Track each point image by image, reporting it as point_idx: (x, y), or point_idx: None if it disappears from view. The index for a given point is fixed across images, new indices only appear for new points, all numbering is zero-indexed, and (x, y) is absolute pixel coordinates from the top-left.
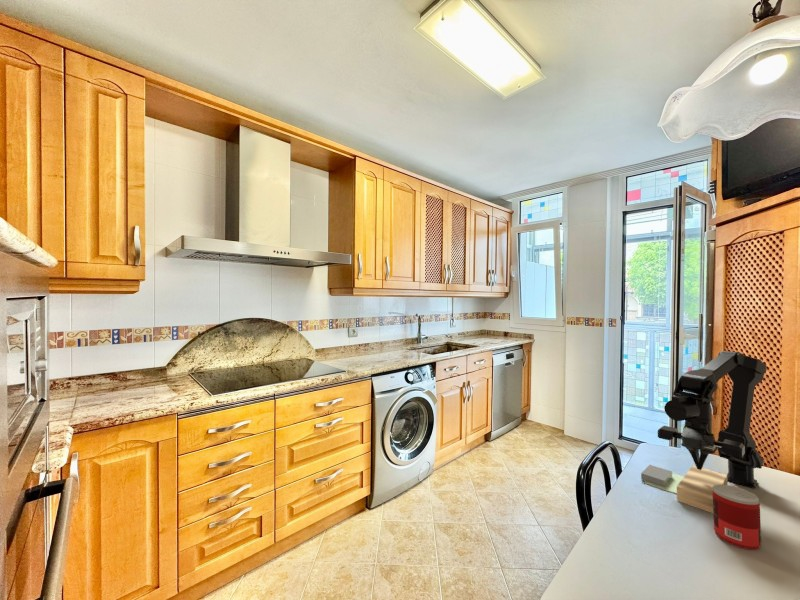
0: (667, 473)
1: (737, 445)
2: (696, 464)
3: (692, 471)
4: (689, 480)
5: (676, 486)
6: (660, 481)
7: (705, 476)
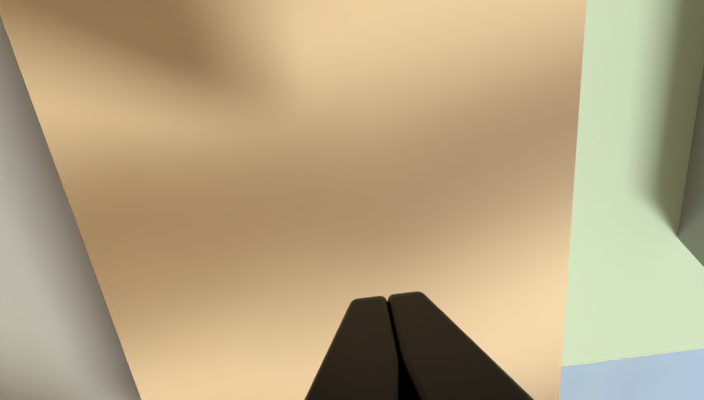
0: None
1: None
2: (454, 352)
3: None
4: (478, 7)
5: (606, 16)
6: None
7: None
